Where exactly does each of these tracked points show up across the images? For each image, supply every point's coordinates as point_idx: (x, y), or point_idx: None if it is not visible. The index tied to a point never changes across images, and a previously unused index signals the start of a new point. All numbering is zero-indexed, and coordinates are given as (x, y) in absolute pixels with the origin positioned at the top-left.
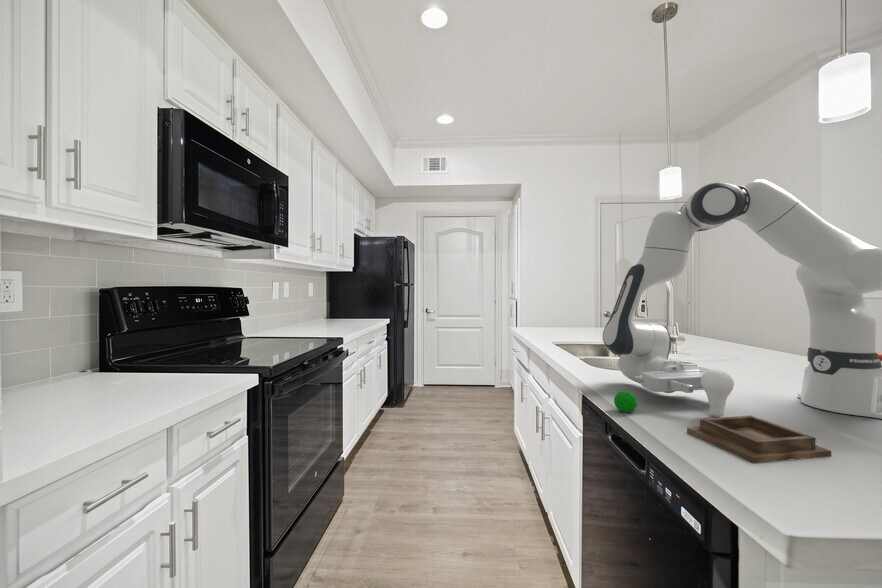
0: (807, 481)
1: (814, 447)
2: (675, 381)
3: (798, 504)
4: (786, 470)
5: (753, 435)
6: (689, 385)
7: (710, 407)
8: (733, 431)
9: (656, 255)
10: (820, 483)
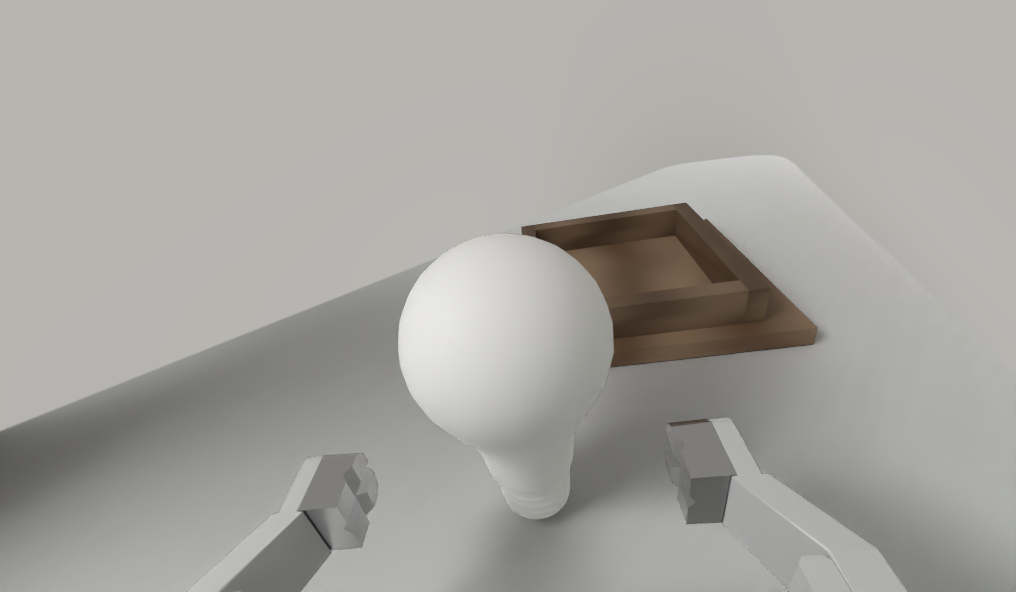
0: (652, 206)
1: None
2: (826, 557)
3: (721, 177)
4: None
5: (603, 290)
6: (703, 421)
7: (567, 472)
8: (706, 230)
9: None
10: (635, 205)
